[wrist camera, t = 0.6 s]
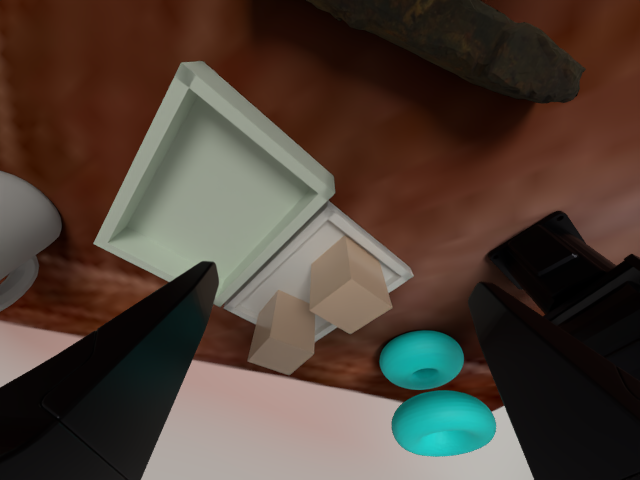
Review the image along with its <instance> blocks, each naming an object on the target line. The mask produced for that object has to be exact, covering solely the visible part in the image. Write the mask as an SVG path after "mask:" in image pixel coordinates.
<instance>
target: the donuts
mask: <svg viewBox="0 0 640 480" xmlns="http://www.w3.org/2000/svg"><path fill="white" fill-rule="evenodd" d="M379 362H380V368H381V370H382V372H383V374H384V375H385V377H386V378H387V379H388V380H389V381H391V382H392V383H394V384H395V385H397V386H400V387H403V388H407V389H413V390H425V389H431V388H435V387H439V386H441V385H444V384H446V383H448V382H449V381H451V380H452V379H454V378H455V377H456V376H457V375H458V373H459V372H460V371H461V369H462V366H463V363H464V355H463V351H462V349H461V347H460V345H459V344H458V343H457V342H456V341H455V340H454V339H453V338H452V337H450V336H448V335H446V334H444V333H441V332H437V331H431V330H420V331H413V332H408V333H405V334H402V335H400V336H398V337H396V338H394V339H393V340H391V341H390V342H389V343H388V344H387V345H386V346H385V347H384V348H383V350H382V352H381V355H380V361H379ZM392 431H393V435H394V437H395V439H396V441H397V442H398V443H399V445H400V446H402V447H403V448H404V449H405V450H407V451H409V452H412V453H414V454H418V455H423V456H435V457H437V456H453V455H459V454H463V453H468V452H471V451H474V450H477V449H479V448H481V447H483V446H484V445H486V444H488V443H489V442H490V441H491V440H492V438H493V437H494V434H495V432H496V422H495V418H494V416H493V414H492V412H491V411H490V409H489V408H488V407H487V406H486V405H485V404H484V403H483V402H481V401H480V400H479V399H477V398H475V397H473V396H471V395H468V394H466V393H462V392H457V391H448V390H441V391H431V392H426V393H422V394H419V395H416V396H414V397H412V398H410V399H408V400H407V401H405V402H404V403H402V404H401V405H400V406H399V408H398V409H397V410H396V411H395V413H394V416H393V419H392Z"/></svg>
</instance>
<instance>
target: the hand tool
mask: <svg viewBox="0 0 640 480" xmlns="http://www.w3.org/2000/svg"><path fill="white" fill-rule="evenodd" d="M306 1H308V2H310V3H312V4H313V5H314V6H315V7H316V8H318V9H320V10H322V11H326V12H330V14H332V15H333V17H334V18H336V19H337V20H339V21H342V20H344V21H345V22H346V23H347V24H348V25H349V26H350V27H351V28H354V29H359V30H366V31H368V32H370V33H373V34H376V35H377V36H379V37H381V38H383V39H385V40H387V41H389V42H391V43H393V44H395V45H398V46H400V47H402V48H404V49H406V50H408V51H410V52H412V53H414V54H416V55H418V56H420V57H421V58H423V59H425V60H427V61H429V62H431V63H433V64H435V65H437V66H439V67H441V68H443V69H445V70H448V71H450V72H452V73H454V74H456V75H458V76H459V77H460V78H462V79H464V80H466V81H468V82H470V83H472V84H474V85H479V86H481V87H484V88H486V89H488V90H491V91H493V92H497V93H500V94H503V95H505V96H510V97H512V98H515V99H526V100H530V101H533V102H536V103H549V102H562V103H565V102H568V101H571V100H573V99H574V98H575V97H576V96H577V94H578V92H579V89H580V88H579V80H580V78H581V76H582V73H583V72H584V71H585V70H586V69H585V68H584V67H583V66H581V65H580V64H579V63H578V62H576V61H575V60H574V59H573V58H572V57H571V56H570V55H569V54H568V53H567V52H566V51H564V50H563V49H561V48H559V47H558V46H557V45H556V44H555V43H554V42H553V41H552V40H551V39H550V38H549V37H548V36H547V35H546V34H545V33H544V32H543V31H542V30H540V29H539V28H537V27H535V26H533V25H531V24H529V23H525V22H523V23H515V22H514V21H512V20H511V19H509V18H508V17H507V16H506V15H505V14H503V13H501V12H499V11H498V10H496V9H494V8H492V7H490V6H488V5H487V4H485V3H483V2H482V1H480V0H306Z"/></svg>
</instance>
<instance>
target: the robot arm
mask: <svg viewBox="0 0 640 480" xmlns="http://www.w3.org/2000/svg"><path fill="white" fill-rule="evenodd" d="M495 255H496V256H495ZM488 257H489V258H490V260H491V261H492V262H493V263H494V264H495V265H496V266H497V267H498V268H499V269H500V270H501V271H502V272H503V273H504V274H505V275H506V276H507V277H508V278H509V279H510V280H511V281H512V282H513V283H514V285H515V286H516V287H517V288H518V289H524V290H525V292H526V293H527V294H528V295H529V296H530V297H531V298H532V300H533V301H534V302H535V303H536V304H537V305H538V307H539V308H540V309H541V310H542V311H543V312H544V314H545V315H544V316H541V315H540V314H538V313H537V312H535V311H534V310H532V309H531V308H529V307H528V306H526V305H525V304H523V303H522V302H520V301H519V300H517V299H516V298H514V297H513V296H511V295H510V294H508V293H507V292H505V291H504V290H502V289H501V288H499V287H498V286H496V285H495V284H493V283H490V282H479V283H477V285H476V286H475V288H474V290H473V291H472V293H471V295H470V297H469V299H468V305H469V309H470V312H471V316H472V319H473V323H474V326H475V330H476V333H477V337H478V340H479V343H480V346H481V349H482V351H483V354H484V356H485V359H486V361H487V364H488V366H489V369H490V371H491V374H492V376H493V379H494V381H495V384H496V386H497V389H498V391H499V394H500V396H501V398H502V401H503V403H504V406H505V408H506V411H507V413H508V416H509V418H510V421H511V423H512V426H513V428H514V431H515V433H516V436H517V438H518V441H519V443H520V445H521V448H522V450H523V453H524V455H525V458H526V460H527V463H528V465H529V467H530V470H531V473H532V475H533V477H534V480H640V258H639V257H637V256H635V255H633V254H630V255H629V256H627V257H626V258H625V259H624V261H623V262H622V263H620V264H619V265H617V266H616V265H615V264H613V263H612V262H610V261H609V260H608V259H606V258H605V257H604V256H602V255H601V254H599V253H598V252H597V251H595V250H594V249H592V248H591V247H590V246H588V245H587V244H586V243H585V242H584V240H583V239H582V237H581V236H580V234H579V233H578V231H577V230H576V228H575V227H574V225H573V223H572V222H571V220H570V219H569V217H568V216H567V215H566V214H565V213H564V212H562V211H556V212H554V213H553V214H551V215H549V216H548V217H546V218H545V219H543V220H541V221H540V222H538V223H536V224H535V225H533V226H532V227H530V228H528V229H527V230H525V231H524V232H522V233H520V234H519V235H517V236H516V237H514V238H512V239H511V240H509V241H507V242H506V243H504V244H503V245H501V246H499V247H498V248H496V249H495V250H493V251H491V252H490V253H489V254H488ZM218 286H219V277H218V272H217V266H216V263H215V262H213V261H201V262H199V263H198V264H196V265H195V266H193V267H192V268H190V269H189V270H187V271H186V272H184V273H183V274H181V275H180V276H178V277H176V278H175V279H173V280H172V281H170V282H169V283H167V284H166V285H164V286H163V287H161V288H160V289H158V290H156V291H155V292H153V293H152V294H150V295H149V296H147V297H146V298H144V299H143V300H141V301H140V302H138V303H136V304H135V305H133V306H132V307H130V308H129V309H127V310H126V311H124V312H123V313H121V314H120V315H118V316H116V317H115V318H113V319H112V320H110V321H109V322H107V323H106V324H104V325H103V326H101V327H100V328H98V329H97V331H93V332H92V333H90V334H89V335H87V336H86V337H84V338H83V339H81V340H79V341H78V342H76V343H75V344H73V345H72V346H70V347H68V348H67V349H65V350H64V351H62V352H60V353H59V354H57V355H56V356H54V357H52V358H51V359H49V360H47V361H45V362H44V363H42V364H40V365H39V366H37V367H35V368H34V369H32V370H30V371H28V372H27V373H25V374H23V375H22V376H20V377H18V378H16V379H14V380H13V381H11V382H9V383H7V384H6V385H4V386H2V387H0V480H141V478H142V476H143V473H144V471H145V469H146V466H147V464H148V462H149V459H150V457H151V454H152V452H153V450H154V447H155V445H156V443H157V441H158V438H159V436H160V434H161V431H162V429H163V427H164V424H165V422H166V420H167V417H168V415H169V413H170V410H171V408H172V406H173V403H174V401H175V399H176V396H177V394H178V392H179V389H180V387H181V385H182V382H183V380H184V378H185V375H186V373H187V370H188V368H189V366H190V364H191V361H192V359H193V357H194V354H195V352H196V350H197V347H198V345H199V343H200V341H201V338H202V336H203V334H204V331H205V329H206V326H207V323H208V320H209V316H210V313H211V310H212V306H213V303H214V300H215V296H216V293H217V290H218Z"/></svg>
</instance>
